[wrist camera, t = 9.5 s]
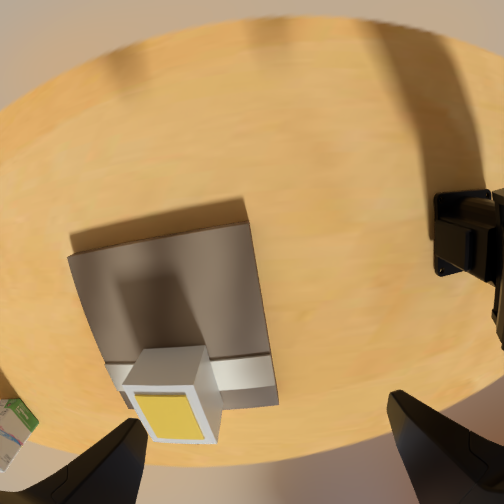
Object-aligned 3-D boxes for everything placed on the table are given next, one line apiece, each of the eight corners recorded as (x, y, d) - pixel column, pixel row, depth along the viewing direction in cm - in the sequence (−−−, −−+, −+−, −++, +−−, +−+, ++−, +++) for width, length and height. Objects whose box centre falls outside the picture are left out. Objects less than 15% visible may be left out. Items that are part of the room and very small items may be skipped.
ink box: (20, 397, 25) (-22, 446, 14) (40, 423, 26) (5, 474, 15) (-1, 398, 26) (-37, 439, 15) (17, 421, 27) (-15, 464, 16)
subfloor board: (248, 220, 19) (248, 224, 17) (278, 395, 22) (279, 406, 21) (75, 253, 20) (65, 257, 18) (132, 400, 23) (128, 410, 22)
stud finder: (205, 345, 20) (192, 386, 15) (223, 403, 21) (216, 445, 17) (143, 349, 20) (120, 386, 15) (167, 404, 21) (153, 443, 17)
